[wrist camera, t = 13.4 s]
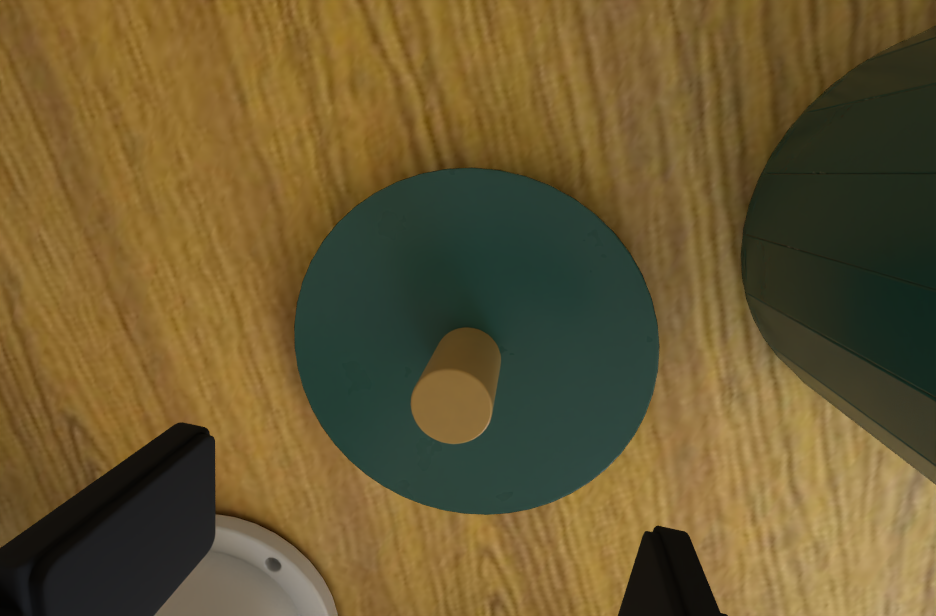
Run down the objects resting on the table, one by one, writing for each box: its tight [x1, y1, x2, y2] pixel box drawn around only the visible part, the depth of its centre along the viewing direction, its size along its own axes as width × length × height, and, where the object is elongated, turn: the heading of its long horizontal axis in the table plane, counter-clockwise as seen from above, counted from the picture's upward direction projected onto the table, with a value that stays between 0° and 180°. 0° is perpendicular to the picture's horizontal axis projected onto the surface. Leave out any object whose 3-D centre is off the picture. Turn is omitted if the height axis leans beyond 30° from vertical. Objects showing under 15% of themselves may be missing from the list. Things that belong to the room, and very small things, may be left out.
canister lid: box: [294, 168, 659, 515], centre depth 19 cm, size 16×16×6 cm
